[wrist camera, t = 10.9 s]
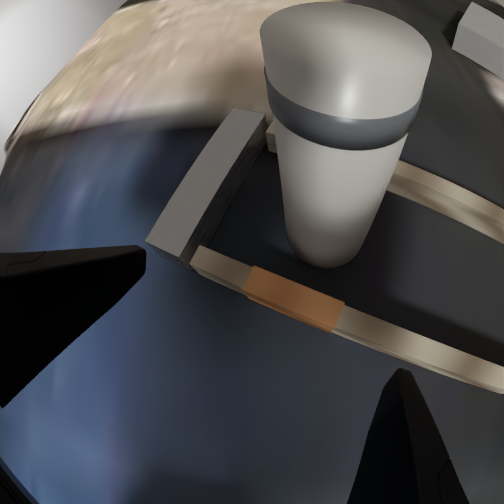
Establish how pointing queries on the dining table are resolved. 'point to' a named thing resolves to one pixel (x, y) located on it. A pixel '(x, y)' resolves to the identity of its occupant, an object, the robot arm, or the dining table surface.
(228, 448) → the dining table surface
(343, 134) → the grey capped post
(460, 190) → the beige u-shaped frame
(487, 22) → the disc drive
